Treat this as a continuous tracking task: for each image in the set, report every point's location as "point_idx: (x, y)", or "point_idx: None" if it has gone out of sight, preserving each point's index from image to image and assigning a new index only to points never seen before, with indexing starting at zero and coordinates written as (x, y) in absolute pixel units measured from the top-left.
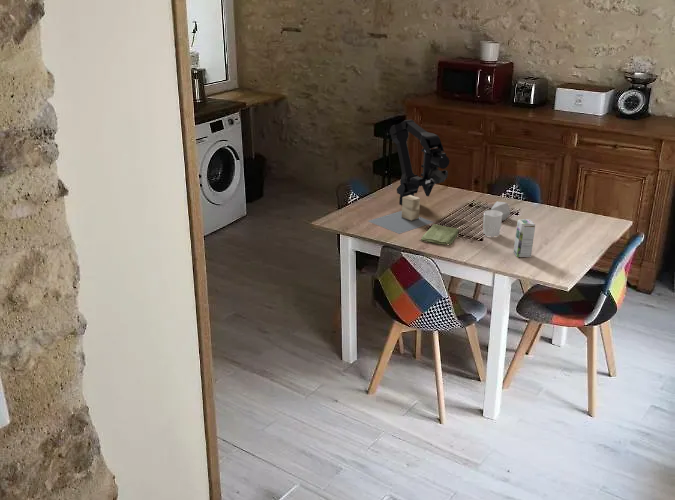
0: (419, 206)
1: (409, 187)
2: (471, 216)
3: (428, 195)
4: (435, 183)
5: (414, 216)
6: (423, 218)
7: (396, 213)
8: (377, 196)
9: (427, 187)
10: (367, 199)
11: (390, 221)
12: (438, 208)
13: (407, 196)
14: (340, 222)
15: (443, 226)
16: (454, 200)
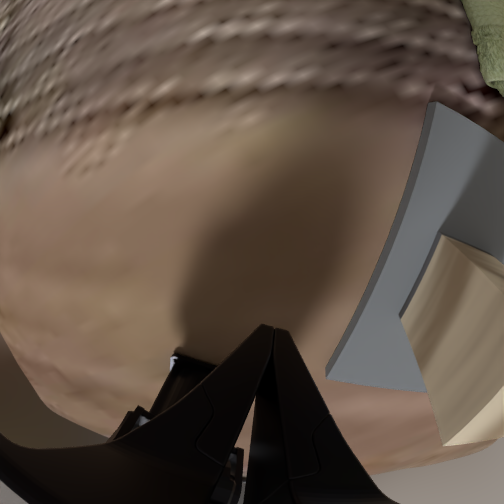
0: (490, 281)
1: (216, 485)
2: (112, 3)
3: (282, 335)
4: (81, 481)
5: (486, 258)
6: (410, 207)
7: (389, 378)
8: None
9: (367, 481)
10: None
11: None
12: (113, 232)
13: (490, 431)
14: None
15: (500, 14)
16: (8, 225)
